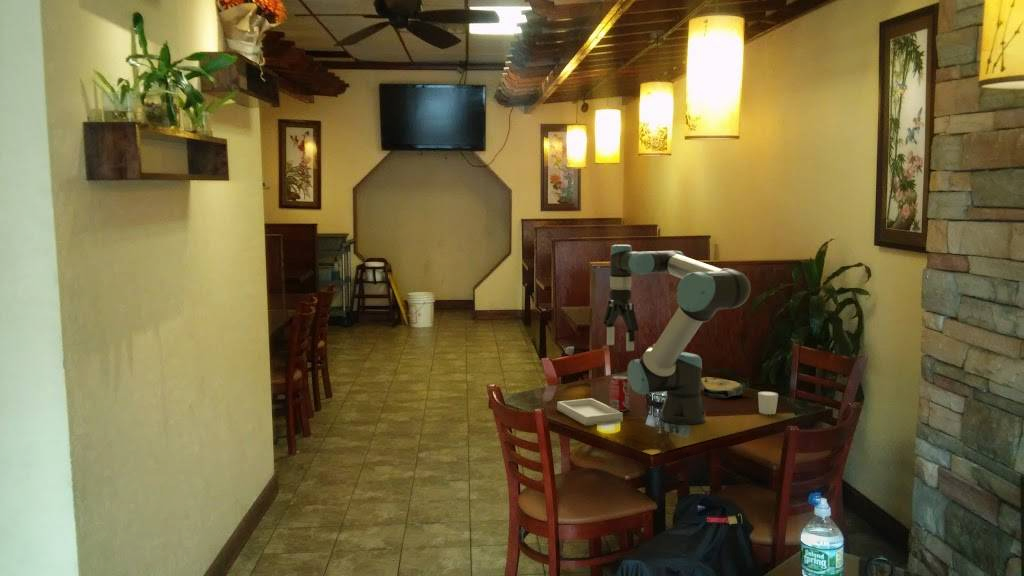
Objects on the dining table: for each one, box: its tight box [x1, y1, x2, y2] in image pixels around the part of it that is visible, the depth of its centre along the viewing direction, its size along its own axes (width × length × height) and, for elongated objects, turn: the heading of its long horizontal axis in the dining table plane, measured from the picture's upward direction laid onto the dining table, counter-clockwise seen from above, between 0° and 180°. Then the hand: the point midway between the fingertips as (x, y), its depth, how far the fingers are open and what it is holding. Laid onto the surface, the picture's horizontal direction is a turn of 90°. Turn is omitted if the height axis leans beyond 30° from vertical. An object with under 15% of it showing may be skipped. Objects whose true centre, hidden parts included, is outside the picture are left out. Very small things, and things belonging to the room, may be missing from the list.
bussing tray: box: [556, 397, 624, 427], centre depth 290 cm, size 22×14×3 cm, turn 23°
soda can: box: [609, 374, 631, 412], centre depth 298 cm, size 7×7×12 cm
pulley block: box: [701, 376, 752, 399], centre depth 327 cm, size 14×6×30 cm
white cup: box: [757, 390, 779, 416], centre depth 295 cm, size 7×7×7 cm
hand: (620, 347), depth 297 cm, fingers open, 13 cm apart
